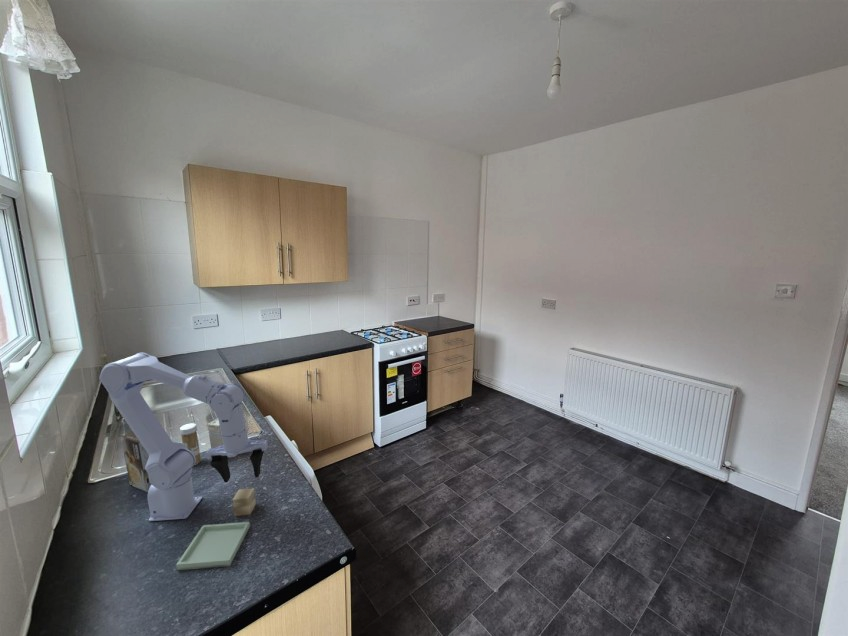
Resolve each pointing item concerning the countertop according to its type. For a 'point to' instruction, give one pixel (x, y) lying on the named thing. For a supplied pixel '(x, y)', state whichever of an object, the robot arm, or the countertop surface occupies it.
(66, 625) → the countertop surface
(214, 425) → the supplement box
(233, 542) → the tray
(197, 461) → the sprinkles bottle
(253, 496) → the beech block
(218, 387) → the robot arm
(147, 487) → the coffee box
